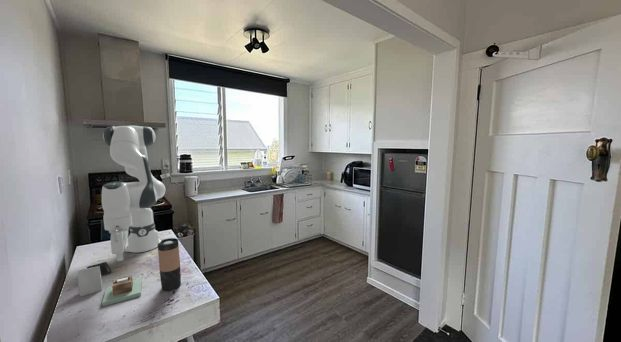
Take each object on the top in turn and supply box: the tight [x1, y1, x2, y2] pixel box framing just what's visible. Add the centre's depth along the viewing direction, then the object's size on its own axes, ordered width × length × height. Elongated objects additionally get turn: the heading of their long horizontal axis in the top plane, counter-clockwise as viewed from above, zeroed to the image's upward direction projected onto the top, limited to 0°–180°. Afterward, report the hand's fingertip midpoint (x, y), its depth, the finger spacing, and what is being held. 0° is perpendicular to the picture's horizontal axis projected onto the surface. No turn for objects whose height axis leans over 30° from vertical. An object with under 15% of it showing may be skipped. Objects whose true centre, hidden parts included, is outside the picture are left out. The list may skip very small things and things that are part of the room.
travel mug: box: [157, 237, 182, 292], centre depth 105 cm, size 8×8×20 cm
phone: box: [86, 261, 112, 278], centre depth 120 cm, size 8×1×15 cm
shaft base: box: [101, 277, 143, 307], centre depth 102 cm, size 12×12×6 cm
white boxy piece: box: [77, 266, 103, 297], centre depth 103 cm, size 4×7×10 cm, turn 128°
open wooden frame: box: [111, 274, 134, 296], centre depth 102 cm, size 6×6×4 cm
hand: (121, 255), depth 101 cm, fingers open, 8 cm apart
